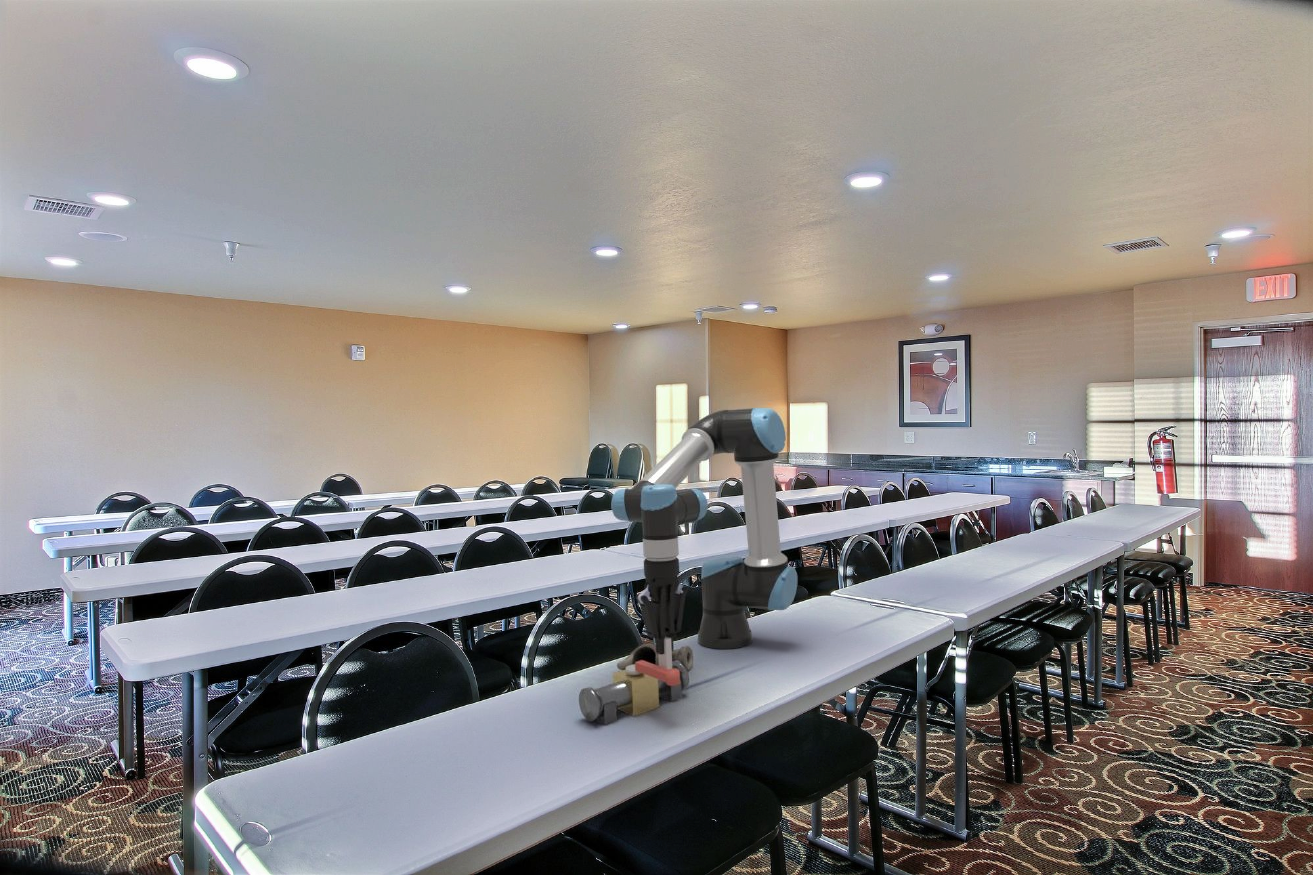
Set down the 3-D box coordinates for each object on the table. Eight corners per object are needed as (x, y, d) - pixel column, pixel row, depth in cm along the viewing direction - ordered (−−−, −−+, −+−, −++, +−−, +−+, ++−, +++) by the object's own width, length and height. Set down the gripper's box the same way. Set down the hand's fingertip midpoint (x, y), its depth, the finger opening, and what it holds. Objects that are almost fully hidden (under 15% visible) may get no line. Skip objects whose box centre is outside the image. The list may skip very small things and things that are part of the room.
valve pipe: (670, 688, 174) (669, 656, 174) (690, 696, 168) (689, 663, 168) (579, 718, 158) (577, 683, 158) (597, 728, 153) (596, 692, 152)
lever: (622, 671, 163) (621, 656, 163) (636, 667, 166) (636, 652, 166) (670, 690, 150) (669, 674, 150) (685, 685, 153) (684, 669, 153)
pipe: (647, 701, 188) (623, 688, 176) (633, 670, 193) (609, 655, 181) (702, 668, 187) (681, 652, 175) (687, 637, 192) (666, 620, 180)
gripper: (673, 551, 166) (677, 657, 166) (625, 560, 158) (630, 671, 158) (695, 555, 160) (700, 664, 160) (647, 564, 152) (652, 679, 152)
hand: (665, 667), depth 159 cm, fingers closed
